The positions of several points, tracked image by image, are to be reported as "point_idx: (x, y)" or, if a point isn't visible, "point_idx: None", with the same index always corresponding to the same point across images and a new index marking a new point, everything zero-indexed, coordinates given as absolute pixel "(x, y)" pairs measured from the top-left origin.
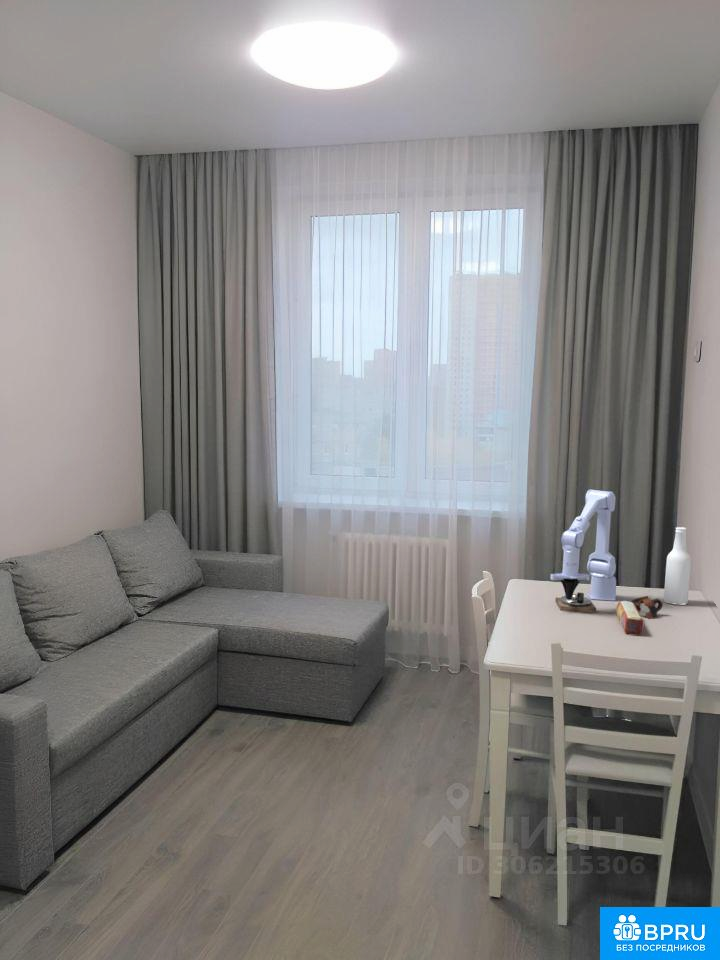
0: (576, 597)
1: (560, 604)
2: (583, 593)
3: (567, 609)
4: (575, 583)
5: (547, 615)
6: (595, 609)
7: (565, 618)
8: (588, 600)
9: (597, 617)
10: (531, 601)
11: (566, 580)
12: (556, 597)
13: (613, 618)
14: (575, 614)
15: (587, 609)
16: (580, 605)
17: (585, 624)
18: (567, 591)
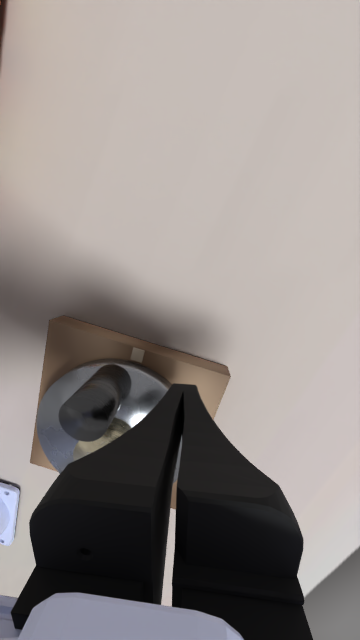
0: (111, 431)
1: (213, 407)
2: (62, 411)
3: (194, 358)
4: (116, 476)
5: (353, 284)
6: (57, 320)
7: (280, 216)
8: (50, 409)
9: (88, 226)
10: (289, 503)
11: (251, 604)
12: (173, 508)
13: (10, 201)
14: (183, 290)
15: (97, 331)
16: (121, 360)
17: (222, 69)
18: (211, 422)
